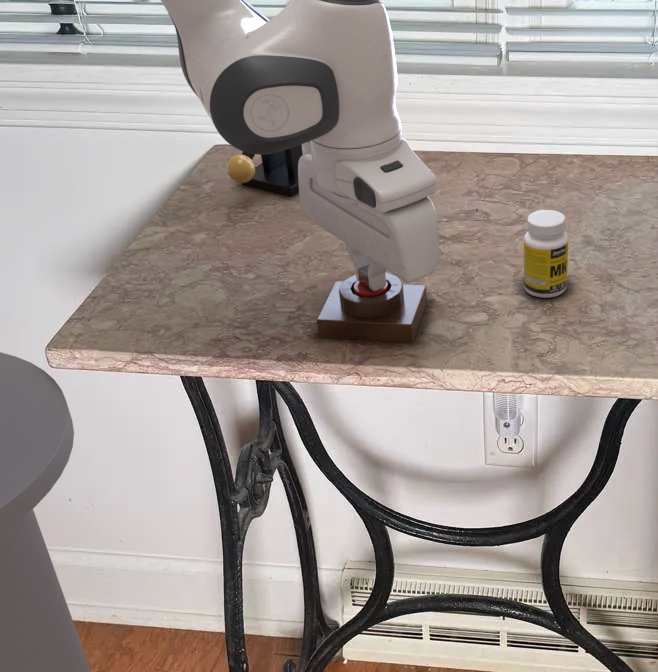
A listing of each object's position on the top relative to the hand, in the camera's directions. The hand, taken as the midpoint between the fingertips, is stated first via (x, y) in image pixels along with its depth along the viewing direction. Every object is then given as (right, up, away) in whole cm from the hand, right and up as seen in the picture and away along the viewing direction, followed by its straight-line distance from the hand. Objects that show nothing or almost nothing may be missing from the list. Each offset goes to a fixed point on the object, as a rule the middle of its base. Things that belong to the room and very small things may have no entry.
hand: (371, 284), depth 123 cm
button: (0, -1, +1) cm, 2 cm away
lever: (-15, +22, +25) cm, 37 cm away
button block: (0, -3, +3) cm, 4 cm away
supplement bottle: (+19, +1, +7) cm, 20 cm away
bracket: (-13, +19, +31) cm, 39 cm away
